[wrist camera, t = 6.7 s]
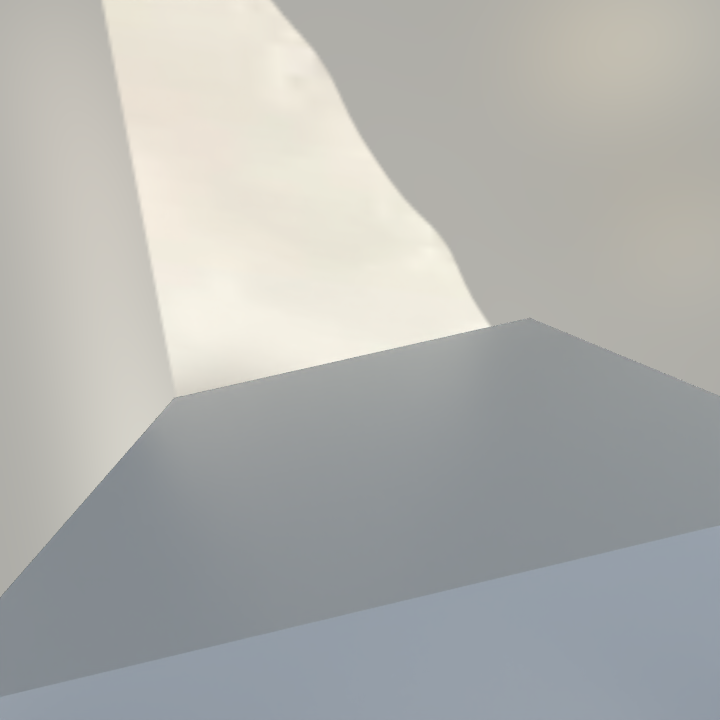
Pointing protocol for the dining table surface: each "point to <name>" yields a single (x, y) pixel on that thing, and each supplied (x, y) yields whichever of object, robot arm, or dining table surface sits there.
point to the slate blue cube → (393, 548)
